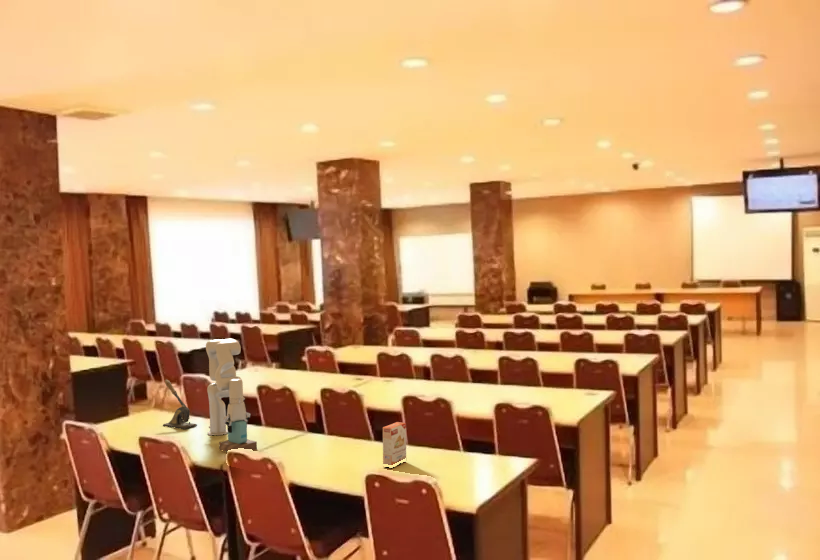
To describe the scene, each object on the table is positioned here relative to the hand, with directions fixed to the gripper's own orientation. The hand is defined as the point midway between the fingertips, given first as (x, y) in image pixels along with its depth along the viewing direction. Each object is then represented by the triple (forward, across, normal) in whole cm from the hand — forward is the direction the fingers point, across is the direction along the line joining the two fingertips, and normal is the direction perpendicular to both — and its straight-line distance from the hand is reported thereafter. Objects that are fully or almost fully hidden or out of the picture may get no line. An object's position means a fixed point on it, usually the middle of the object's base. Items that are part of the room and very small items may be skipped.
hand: (237, 430), depth 406 cm
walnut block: (+11, 0, 0) cm, 11 cm away
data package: (+7, 0, 0) cm, 7 cm away
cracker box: (+11, -36, +90) cm, 98 cm away
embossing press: (+11, -7, -81) cm, 82 cm away
